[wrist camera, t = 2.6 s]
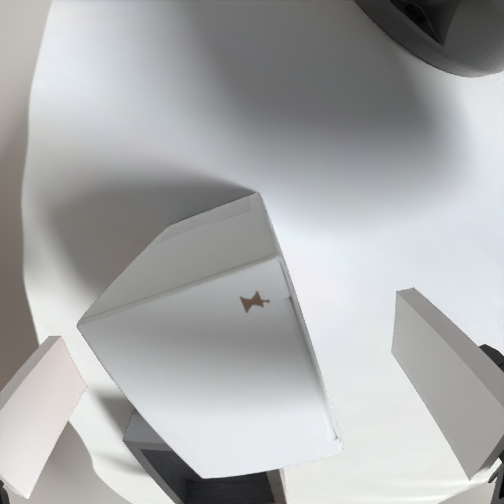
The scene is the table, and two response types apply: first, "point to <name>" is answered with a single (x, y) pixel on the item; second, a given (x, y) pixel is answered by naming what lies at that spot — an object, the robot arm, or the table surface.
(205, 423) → the small box
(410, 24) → the robot arm
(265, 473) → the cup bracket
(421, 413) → the table surface
